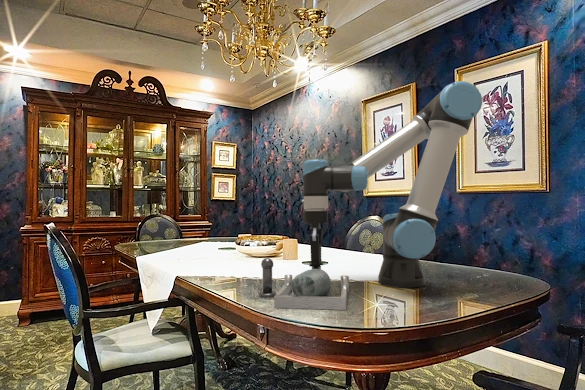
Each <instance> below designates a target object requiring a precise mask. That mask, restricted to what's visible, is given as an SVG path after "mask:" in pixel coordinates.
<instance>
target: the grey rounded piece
mask: <svg viewBox="0 0 585 390" xmlns="http://www.w3.org/2000/svg"><path fill="white" fill-rule="evenodd" d="M331 286H332V281H331V278H330V276H329V274H328V273H327V272H326V271H325V270H323V269H322V268H321V269H312V268H311V269H308V270H305V271H303V272H301V273H299V274H297V275H295V276H294V277H293V278H292V289H293V292H292V293H293V294H294V296H325V295H327V294H329V292H330V291H331V288H332V287H331Z"/></svg>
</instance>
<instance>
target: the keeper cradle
mask: <svg viewBox="0 0 585 390" xmlns="http://www.w3.org/2000/svg"><path fill="white" fill-rule="evenodd" d="M292 281H293V275H292V274H285V275H284V284H283V285H282V287H281V288H280V289H279V290H278V291H277V292H276V295H275V296H274V297H273V298H274V299H273V301H274V305H273V307H274V308H275V309H294V310H296V309H298V310H299V309H301V310H328V309H334V310H335V311H337V310H339V311H346V310H347V300H348V299H347V297H348V294H350V283H349V282H350V277H349V275H341V276H340V294H341V295H340V296H325V295H323V296H295V295H289V294H291V293H294V292H293V289H292Z"/></svg>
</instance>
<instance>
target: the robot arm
mask: <svg viewBox="0 0 585 390" xmlns="http://www.w3.org/2000/svg"><path fill="white" fill-rule="evenodd" d="M482 105H483V97H482V93H481V92H480V91H479V88H478V87H477V86H475V85H474V84H473V83H470V82H469V81H465V80H460V81H458V80H457V81H455V82H452V83H450V84H447V85H446V86H445V87H443V89H442V90H441V91H439V93H438V94H437V95H435V96H434V97H432V99H431V100H430V102H428V103H427V104H426V105H425V106H424V107H423V108H422V109H421V110H420V111H419V112H418V113H416V114H415V115H413V116H412V120H411V121H410V122H409V123H407V124H405V125H404V126H402V127H401V128H400V129H398V130H397V131H395V132H394V133H392V134H391V135H389V136H388V137H386V138H385V139H383V140H382V141H381V142H380V143H377V144H376V145H375V146H373V147H372V148H371V149H369V150H368V151H366V152H364V153H363V154H362V155H361V156H359V157H357V158H355V160H353V161H352V162H350V163H349V164H348V165H344V166H343V165H340V166H336V165H335V166H333V165H331V166H330V165H329V164H328V161H327V160H326V159H315V158H314V159H307V160H305V161H304V162H303V167H302V184H303V185H302V190H303V192H302V193H303V196H302V197H303V199H301V203H302V204H303V209H304V210H305V211H303V223H304V224H311V225H310V229H308V235H309V244H310V264H308V266H309V267H311V269H321V270H322V266H324V263H323V262H322V243H323V235H324V234H323V232H324V230H323V228H321V224H327V223H329V212H328V210H327V209H329V196H328V193H329V192H331V191H332V192H333V191H334V192H335V191H339V192H340V193H348V192H352V191H355V192H358V191H365V190H367V187H368V179H369V178H370V177H372V176H373V175H375V174H377V173H378V172H379V171H381V170H382V169H384V168H385V167H387V166H388V165H390V164H391V163H392V162H394V161H395V160H396V159H398V158H400V157H402V156H403V155H404V154H406V153H407V152H408V151H409V152H410V150H412V149H413V148H414V147H416V146H417V145H419V144H421V143H422V142H423V141H425V140H427V142H426V146H425V148H424V150H423V151H424V152H423V154H422V157H421V159H420V162H419V165H418V169H417V171H416V173H415V177H414V181H413V184H412V187H411V189H410V192H409V195H408V198H407V201H406V204H404V205H402V206H400V207H399V208H398V212H397V213H388V214H385V215H384V216H383V218H382V222H381V223H382V225H381V226H382V246H383V247H382V248H383V249H382V250H383V251H382V253H383V256H382V257H383V258H382V259H383V260H382V263H381V267H380V270H379V272H378V273H379V274H378V276H377V277H378V278H377V279H378V280H377V281H378V284H380V285H383V286H387V287H391V288H392V287H393V288H408V289H409V288H419V287H424V286H425V285H426V276H425V274H424V271H423V268H422V264H421V261H420V259H421V258H424V257H426V256H428V255H429V254H430V253H431V252H432V251H433V250H434V247H435V245H436V240H437V237H436V232H435V231H436V227H437V225H438V222H439V219H438V218H437V215H436V210H437V207H438V205H439V201H440V200H441V196H442V193H443V189H444V186H445V183H446V182H447V177H448V175H449V172H450V169H451V167H452V163H453V160H454V157H455V154H456V151H457V148H458V146H459V142H460V140H461V138H462V137H464V136H465V135H468V132H469V130H470V126H471V124H472V121H473V118H475V117H476V116H477V115H478V114H479V113H480V110H481V109H482V107H483V106H482Z"/></svg>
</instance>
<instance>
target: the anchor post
mask: <svg viewBox="0 0 585 390" xmlns="http://www.w3.org/2000/svg"><path fill="white" fill-rule="evenodd" d="M260 264H261V265H260V266H261V268H262V290H261V291H259V292H258V296H259V297H261V298H274V296H275V295H276V294H277V292H276V291H275V290H273V267H274V260H273V259H271V258H269V257H265V258H263V259H262V261H261V263H260Z"/></svg>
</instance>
